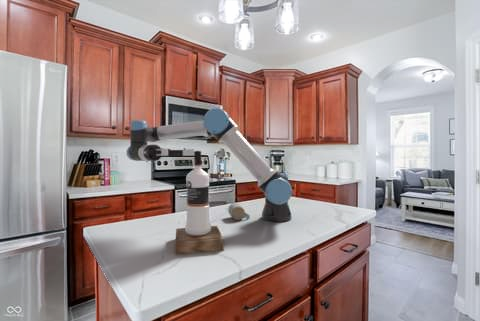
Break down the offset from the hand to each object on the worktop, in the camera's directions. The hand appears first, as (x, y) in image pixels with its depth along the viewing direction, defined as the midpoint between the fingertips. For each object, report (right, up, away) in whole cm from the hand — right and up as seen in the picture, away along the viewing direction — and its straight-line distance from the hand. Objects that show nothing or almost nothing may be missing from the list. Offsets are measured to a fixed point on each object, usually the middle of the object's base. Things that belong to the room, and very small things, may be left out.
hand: (181, 152), depth 101 cm
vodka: (+9, -30, -11) cm, 33 cm away
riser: (+9, -34, -11) cm, 37 cm away
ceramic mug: (+24, -34, +26) cm, 49 cm away
